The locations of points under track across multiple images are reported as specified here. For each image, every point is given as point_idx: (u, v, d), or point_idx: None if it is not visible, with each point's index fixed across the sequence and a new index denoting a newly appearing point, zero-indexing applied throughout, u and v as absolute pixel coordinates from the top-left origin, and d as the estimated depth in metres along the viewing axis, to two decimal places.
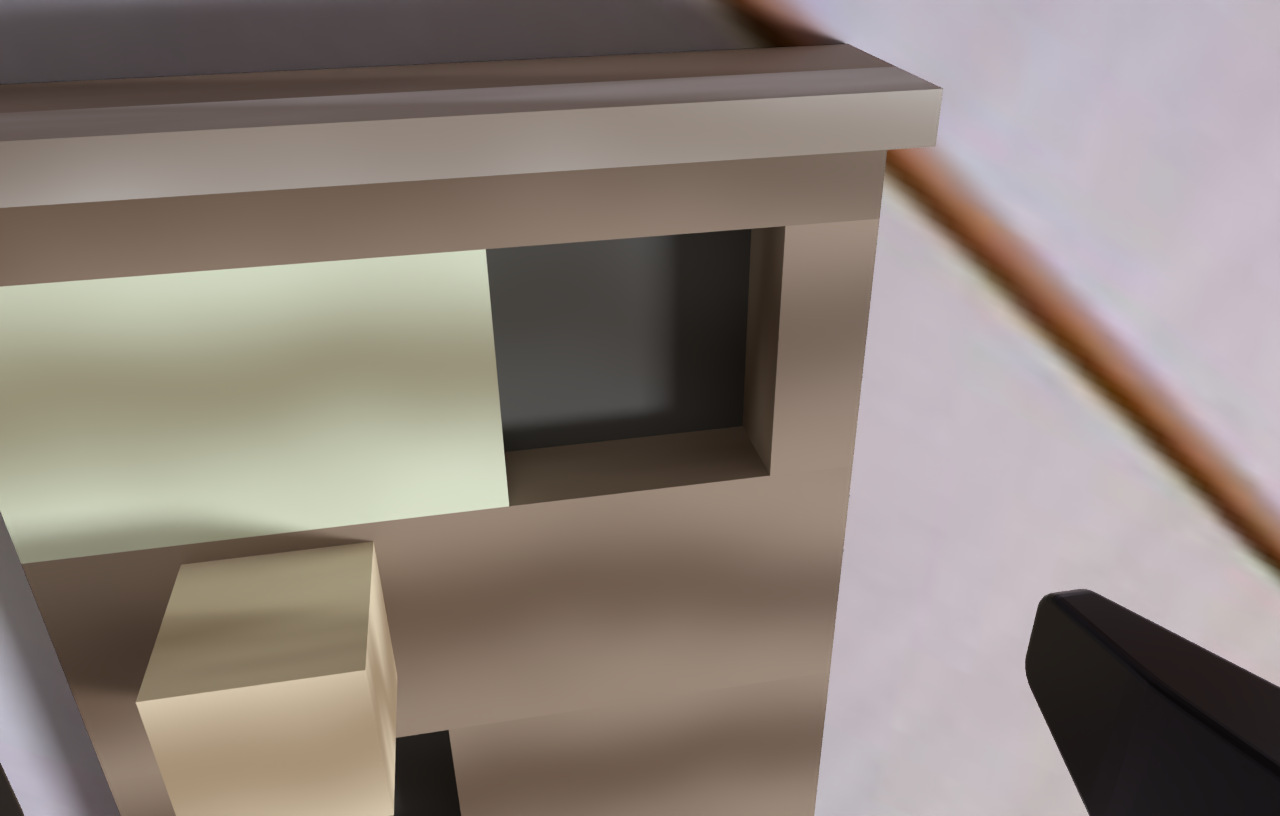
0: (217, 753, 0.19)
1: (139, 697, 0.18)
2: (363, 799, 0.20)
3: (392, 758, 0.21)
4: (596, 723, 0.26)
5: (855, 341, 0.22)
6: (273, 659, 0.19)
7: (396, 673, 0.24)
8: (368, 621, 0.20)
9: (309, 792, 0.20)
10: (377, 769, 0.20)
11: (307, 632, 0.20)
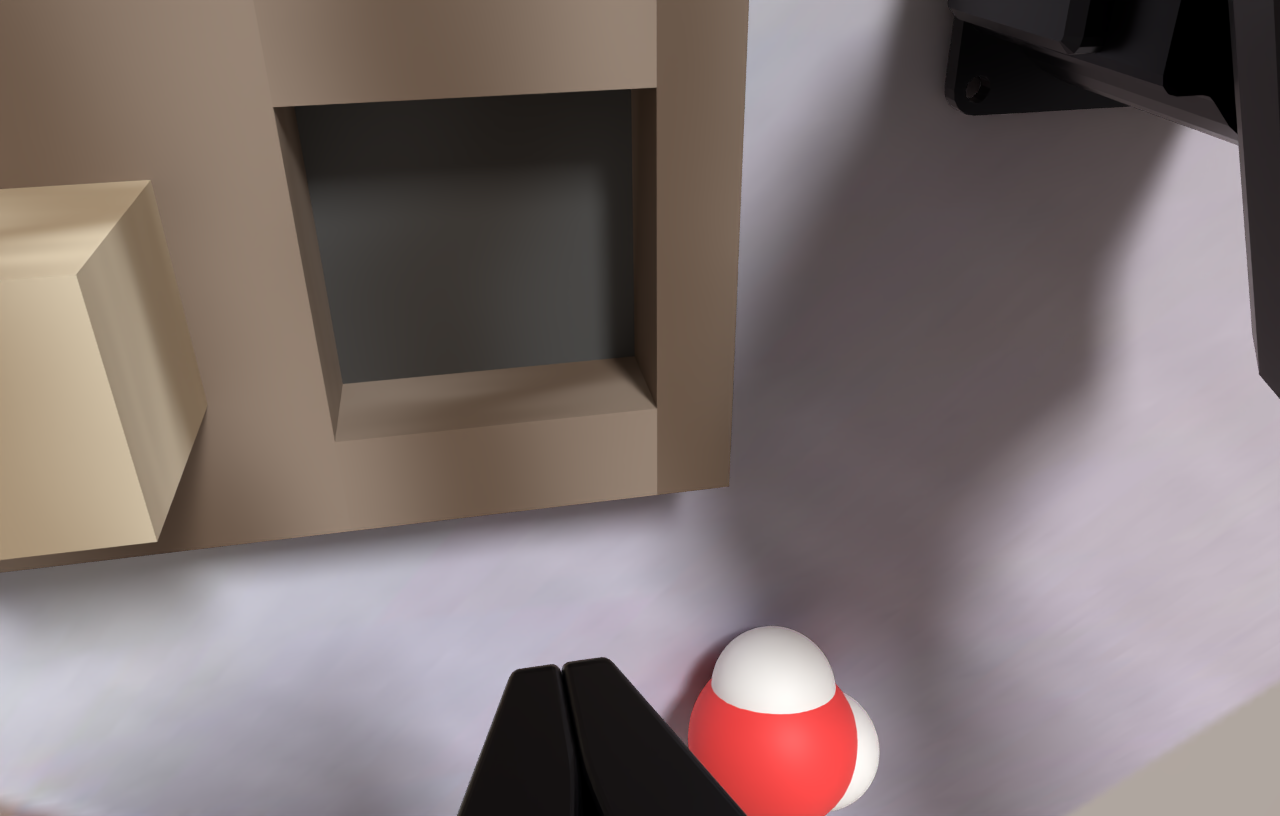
0: None
1: None
2: (33, 318, 0.12)
3: (64, 245, 0.13)
4: None
5: None
6: None
7: (141, 181, 0.16)
8: None
9: (21, 392, 0.13)
10: None
11: None
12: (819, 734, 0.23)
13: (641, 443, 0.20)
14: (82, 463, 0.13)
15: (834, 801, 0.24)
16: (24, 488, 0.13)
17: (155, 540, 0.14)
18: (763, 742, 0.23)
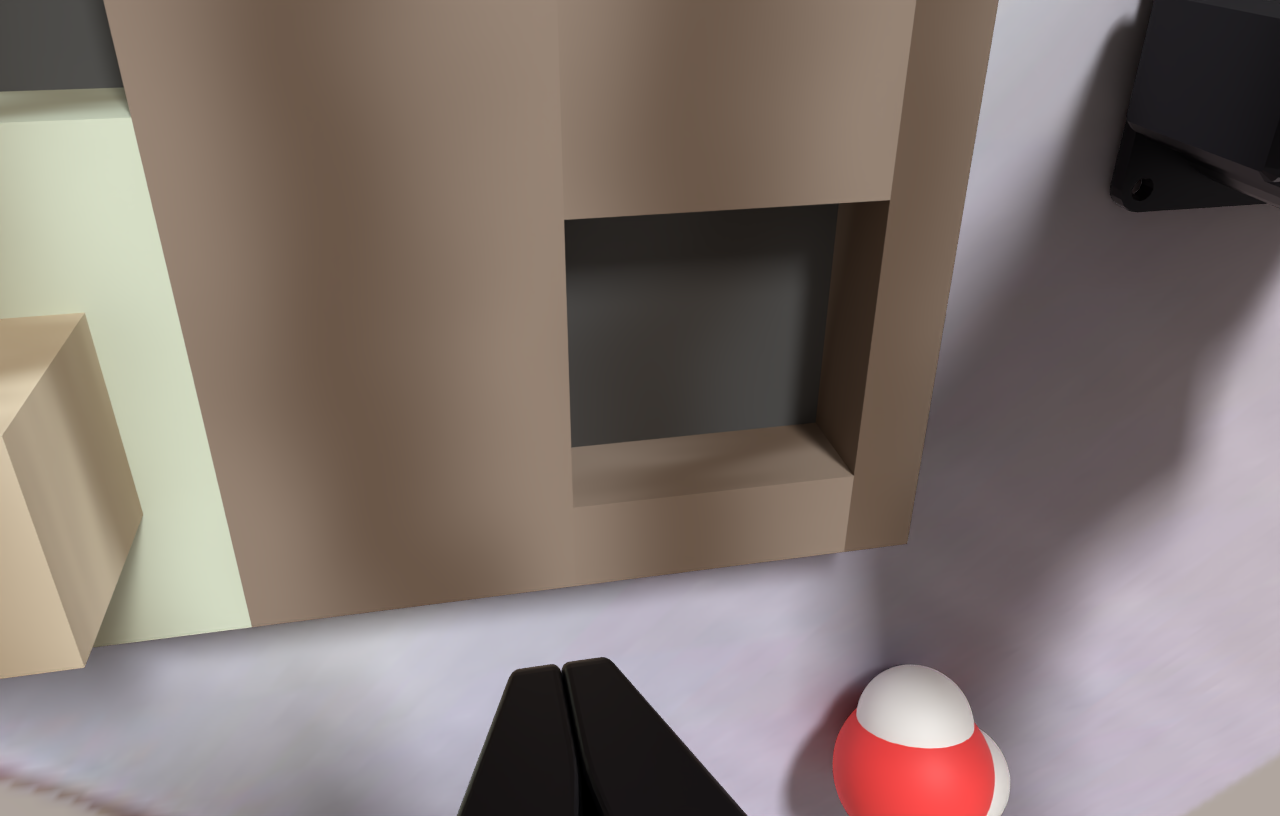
0: None
1: None
2: None
3: None
4: None
5: None
6: None
7: (75, 314, 0.16)
8: None
9: None
10: None
11: None
12: (966, 767, 0.25)
13: (836, 506, 0.22)
14: (11, 599, 0.14)
15: None
16: None
17: (83, 666, 0.15)
18: (916, 774, 0.25)
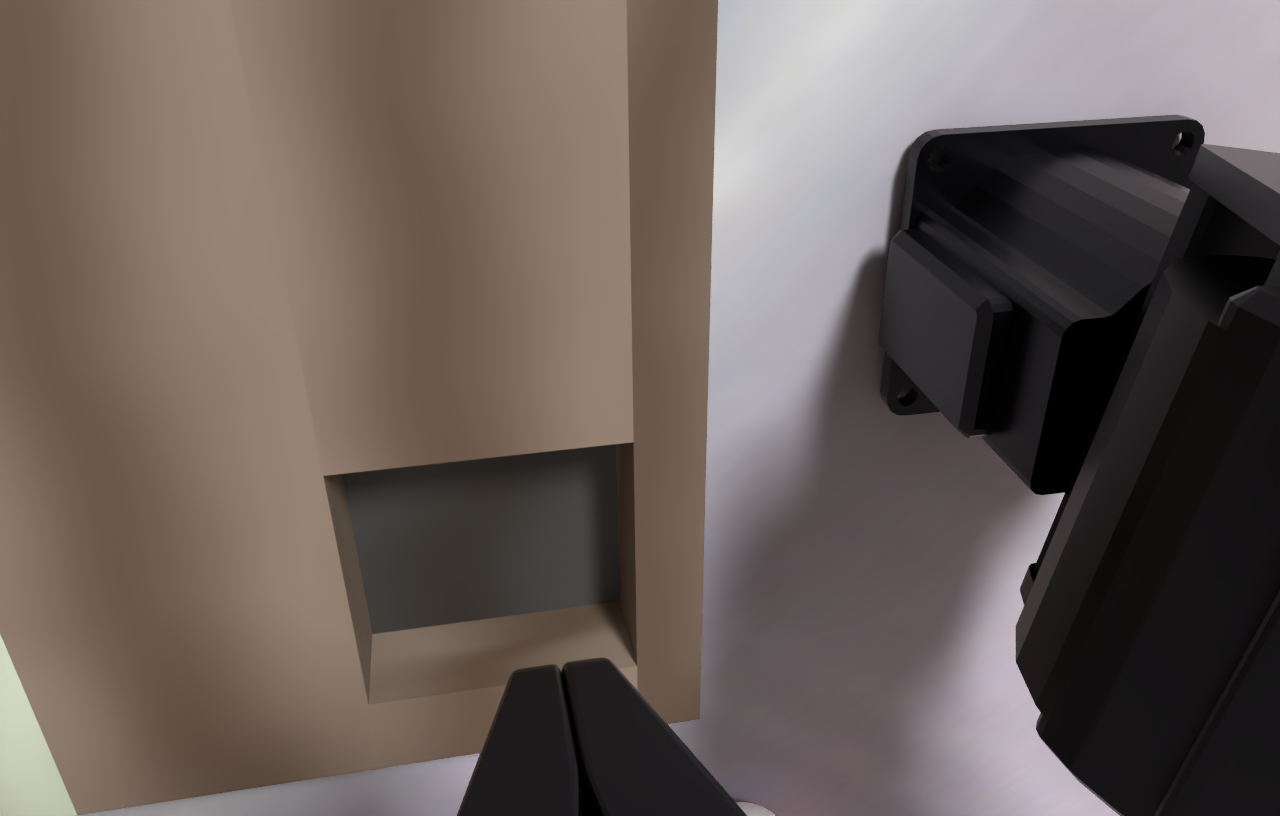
0: None
1: None
2: None
3: None
4: (321, 291, 0.17)
5: None
6: None
7: None
8: None
9: None
10: None
11: None
12: None
13: None
14: None
15: None
16: None
17: None
18: None
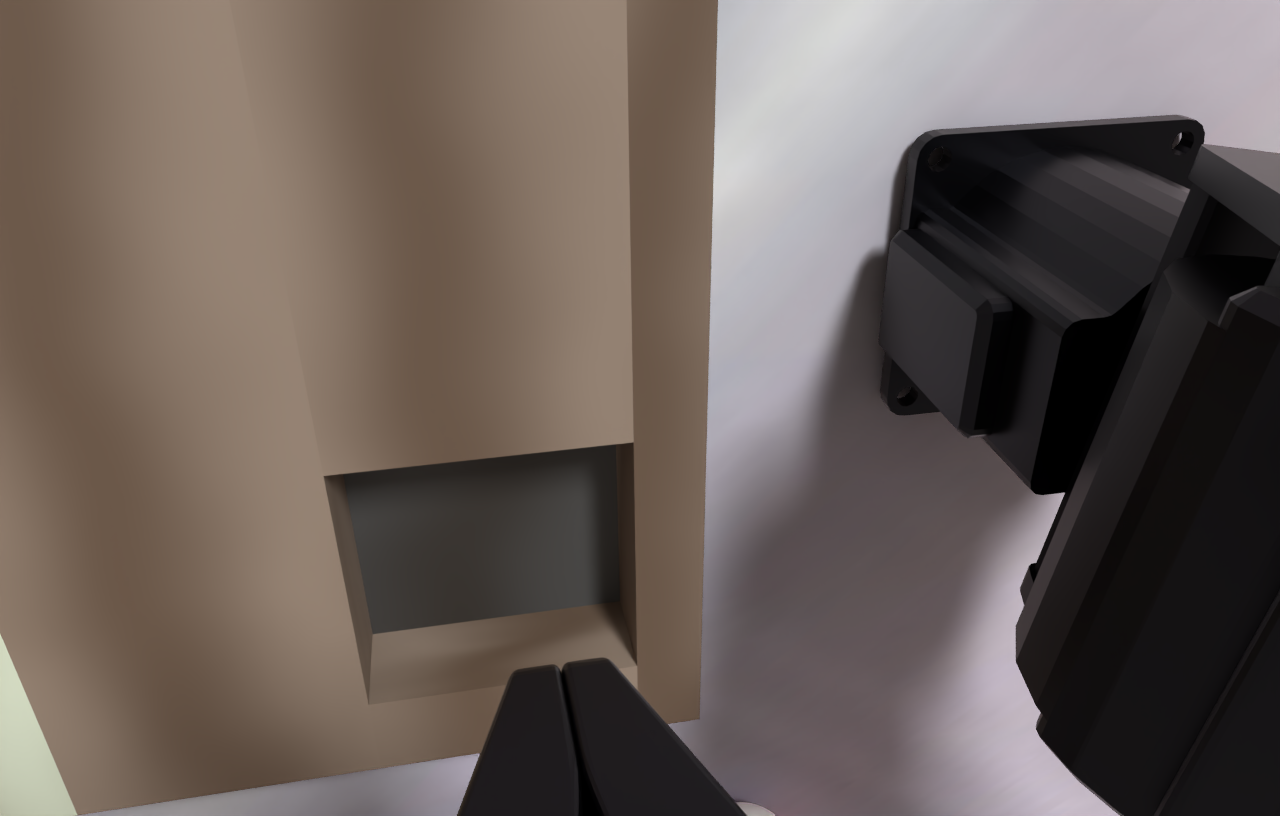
0: None
1: None
2: None
3: None
4: (321, 292, 0.17)
5: None
6: None
7: None
8: None
9: None
10: None
11: None
12: None
13: None
14: None
15: None
16: None
17: None
18: None
